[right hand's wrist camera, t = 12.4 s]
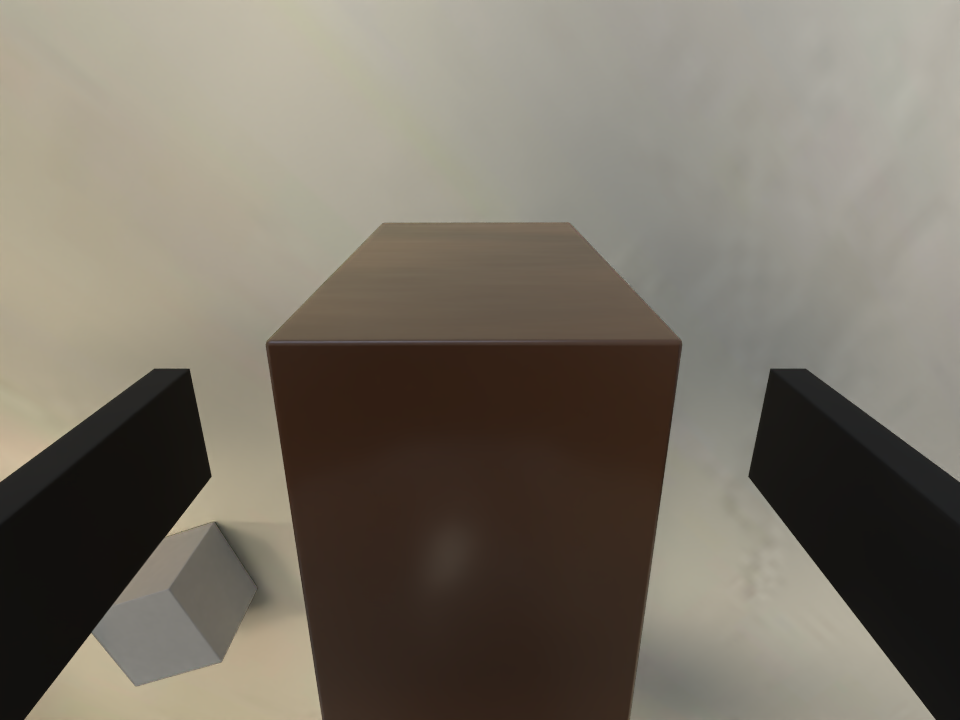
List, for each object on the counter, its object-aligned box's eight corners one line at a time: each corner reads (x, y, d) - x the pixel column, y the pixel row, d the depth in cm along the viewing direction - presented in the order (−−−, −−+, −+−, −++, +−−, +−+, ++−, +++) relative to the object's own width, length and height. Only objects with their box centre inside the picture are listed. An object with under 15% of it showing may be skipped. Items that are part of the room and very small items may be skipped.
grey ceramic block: (182, 610, 34) (135, 687, 29) (135, 546, 32) (77, 617, 27) (258, 588, 33) (222, 662, 29) (214, 521, 31) (168, 589, 27)
